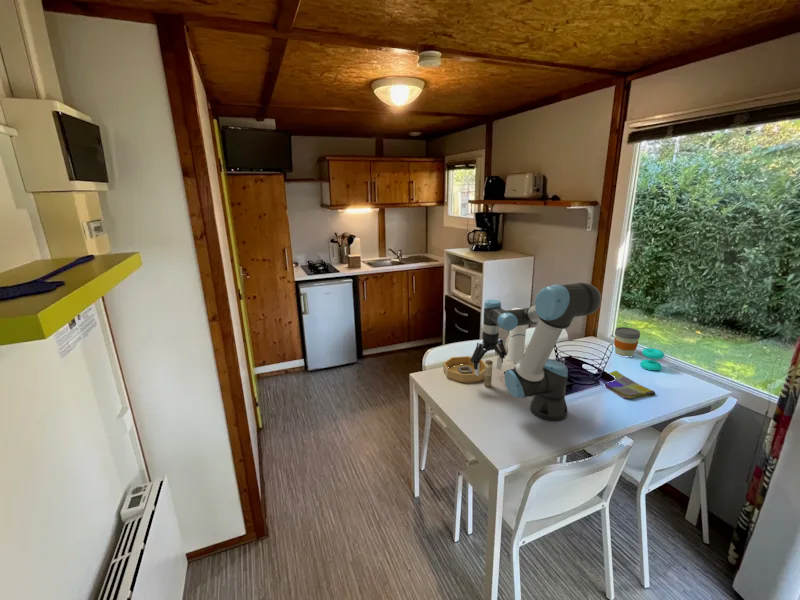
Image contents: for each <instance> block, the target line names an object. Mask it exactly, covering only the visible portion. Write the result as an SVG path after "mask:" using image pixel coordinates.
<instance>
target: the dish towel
mask: <svg viewBox="0 0 800 600" xmlns="http://www.w3.org/2000/svg"><path fill="white" fill-rule="evenodd" d="M608 373H609V374H611V375H613V376H615V378H616V379H615V381H613V382H609V383H606V382H604V381H603V383H604V384H605V386H606V387H605V388H606V389H607V390H609V391H611V392H612V393H614V394H615V395H617V396H619V397H620V398H623V399H626V400H630V399H637V398H645V397H652V396H653V395H654V396H656V392H655V390H652V389H650V388H648V387H645V386H643V385H641V384H639V383H637V382H635V381H633V380H632V379H630V378H629V377H627V376H625V375H623V374H622V373H620V372H619V371H618V370H614V371H612V372H608ZM654 396H653V397H654Z"/></svg>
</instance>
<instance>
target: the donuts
mask: <svg viewBox="0 0 800 600" xmlns="http://www.w3.org/2000/svg"><path fill="white" fill-rule="evenodd" d="M641 353H642V355H643V356H644V357H645V358H647V359H643V360H641V361H640V362H639V366H640V367H641V368H642V367H643V368H642V369H644V368H645V370H646V369H648V370H647V371H650V370H659V371H661V370H662V369H663V365H662V364H661V363H660V362H659V361H656V360H662V359H664V357H665V353H664V352H663V351H662V350H660V349H658V348H652V347H646V348H644V349H642V351H641Z"/></svg>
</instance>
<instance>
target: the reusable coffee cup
mask: <svg viewBox="0 0 800 600" xmlns="http://www.w3.org/2000/svg"><path fill="white" fill-rule="evenodd" d="M614 336H615V337H614V342H613V343H614V349H615V350H614V353H616V354H618V355H621V356H632V355H633V356H634V354H635V351H636V350H637V347H638V345H639V339H640V336H641V332H640V331H639V330H638V329H635V328H632V327H625V326H623V327H621V326H620V327H616V328H615V331H614ZM616 354H615V355H616Z"/></svg>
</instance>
